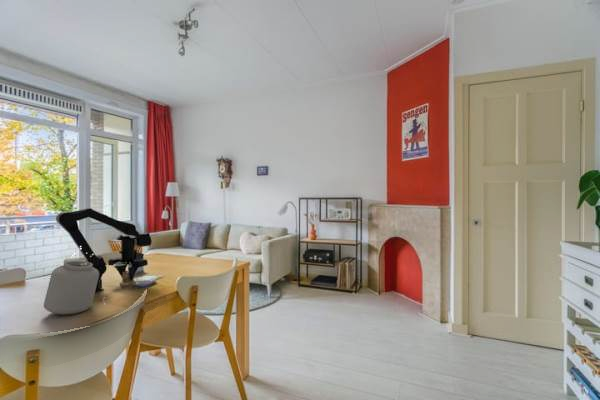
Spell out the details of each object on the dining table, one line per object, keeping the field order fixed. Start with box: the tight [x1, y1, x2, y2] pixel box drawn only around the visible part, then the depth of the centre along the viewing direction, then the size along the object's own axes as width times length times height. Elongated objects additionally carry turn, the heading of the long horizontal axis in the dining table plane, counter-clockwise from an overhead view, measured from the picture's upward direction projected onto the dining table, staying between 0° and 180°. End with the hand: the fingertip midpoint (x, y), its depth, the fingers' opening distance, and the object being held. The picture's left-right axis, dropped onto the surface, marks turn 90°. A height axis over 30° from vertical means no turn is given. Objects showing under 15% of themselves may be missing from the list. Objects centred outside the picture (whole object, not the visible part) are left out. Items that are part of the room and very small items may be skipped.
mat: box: [134, 274, 165, 283], centre depth 154 cm, size 11×11×1 cm
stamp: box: [119, 270, 137, 288], centre depth 144 cm, size 5×5×7 cm
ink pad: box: [130, 280, 158, 290], centre depth 142 cm, size 9×7×1 cm
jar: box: [43, 246, 106, 315], centre depth 111 cm, size 19×15×25 cm
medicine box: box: [127, 259, 144, 276], centre depth 165 cm, size 8×4×9 cm, turn 179°
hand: (127, 279), depth 144 cm, fingers open, 4 cm apart
